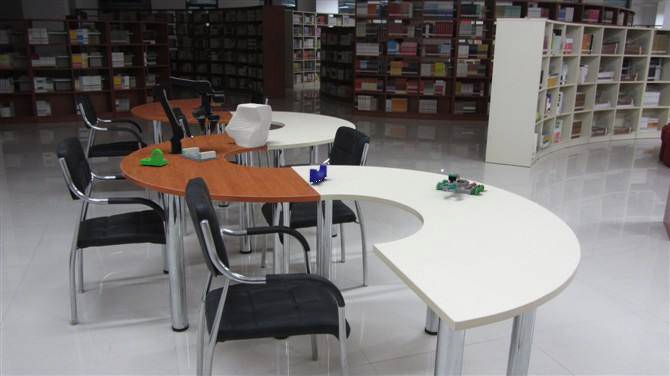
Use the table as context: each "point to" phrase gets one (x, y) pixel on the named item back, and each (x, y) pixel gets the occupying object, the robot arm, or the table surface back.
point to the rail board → (198, 154)
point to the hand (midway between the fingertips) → (207, 131)
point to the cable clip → (318, 173)
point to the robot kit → (459, 185)
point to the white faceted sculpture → (250, 125)
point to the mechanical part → (154, 159)
